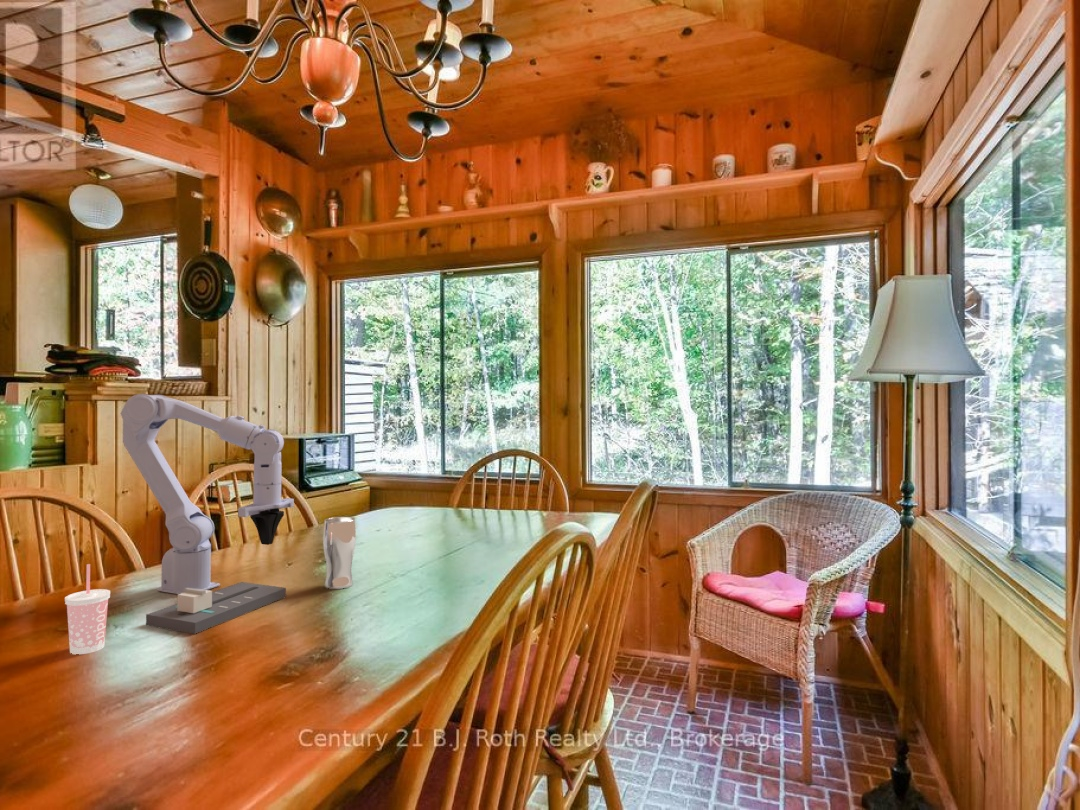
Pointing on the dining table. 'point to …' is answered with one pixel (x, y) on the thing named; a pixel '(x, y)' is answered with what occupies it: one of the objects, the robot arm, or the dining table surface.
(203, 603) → the fader tab
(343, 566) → the beer glass
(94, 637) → the beverage cup
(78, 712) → the dining table surface
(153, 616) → the console
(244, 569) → the dining table surface
